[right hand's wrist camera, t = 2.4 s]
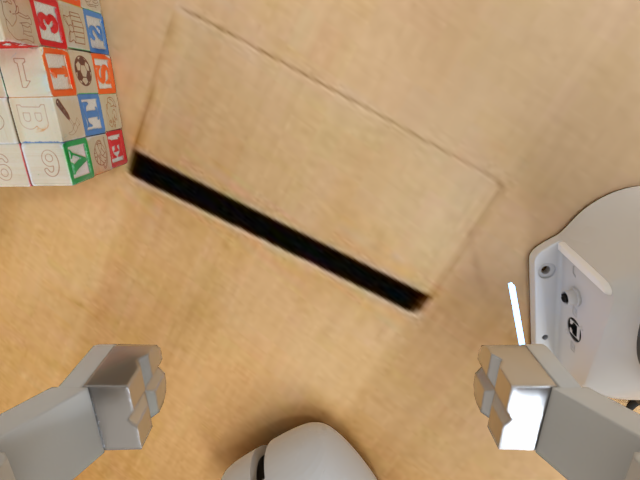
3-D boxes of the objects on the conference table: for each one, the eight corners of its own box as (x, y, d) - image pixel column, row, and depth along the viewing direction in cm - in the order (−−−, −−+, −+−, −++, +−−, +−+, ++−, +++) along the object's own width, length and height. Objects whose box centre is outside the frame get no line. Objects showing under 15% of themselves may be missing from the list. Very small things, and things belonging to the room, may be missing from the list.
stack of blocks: (131, 163, 38) (46, 199, 27) (64, 164, 38) (-49, 199, 27) (80, -127, 30) (-71, -252, 19) (-4, -125, 30) (-204, -248, 19)
